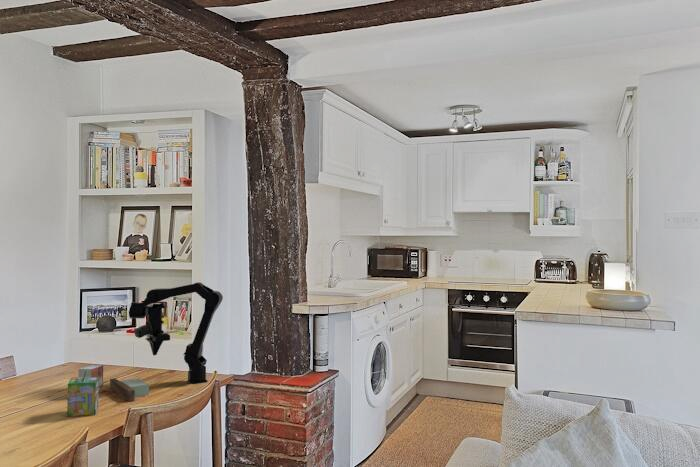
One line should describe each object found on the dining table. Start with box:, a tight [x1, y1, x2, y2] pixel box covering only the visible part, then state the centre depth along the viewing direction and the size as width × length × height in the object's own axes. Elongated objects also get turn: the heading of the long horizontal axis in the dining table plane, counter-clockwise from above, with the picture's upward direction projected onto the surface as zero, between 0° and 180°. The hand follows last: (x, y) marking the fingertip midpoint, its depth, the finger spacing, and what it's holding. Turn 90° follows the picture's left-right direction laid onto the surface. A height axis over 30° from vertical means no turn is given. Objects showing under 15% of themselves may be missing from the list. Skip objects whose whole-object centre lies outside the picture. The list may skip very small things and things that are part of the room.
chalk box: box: [66, 369, 100, 418], centre depth 205 cm, size 9×9×15 cm
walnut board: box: [109, 377, 136, 403], centre depth 229 cm, size 2×24×4 cm, turn 38°
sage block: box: [120, 377, 150, 398], centre depth 231 cm, size 7×12×4 cm, turn 38°
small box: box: [78, 364, 104, 394], centre depth 230 cm, size 8×6×10 cm
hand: (154, 355), depth 250 cm, fingers closed
